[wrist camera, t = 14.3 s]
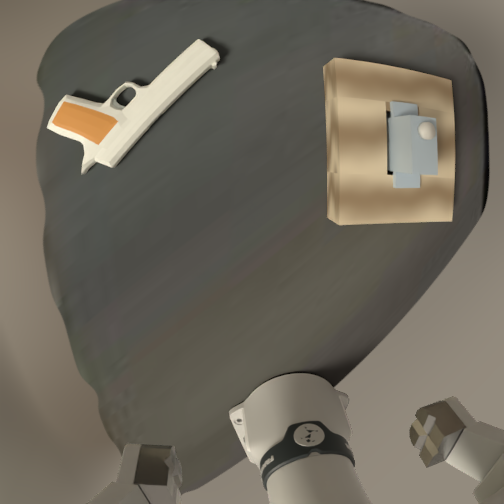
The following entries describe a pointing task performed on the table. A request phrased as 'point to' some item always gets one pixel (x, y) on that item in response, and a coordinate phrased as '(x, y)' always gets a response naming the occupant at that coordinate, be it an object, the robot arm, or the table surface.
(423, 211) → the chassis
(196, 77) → the pistol
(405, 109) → the block
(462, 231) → the table surface
